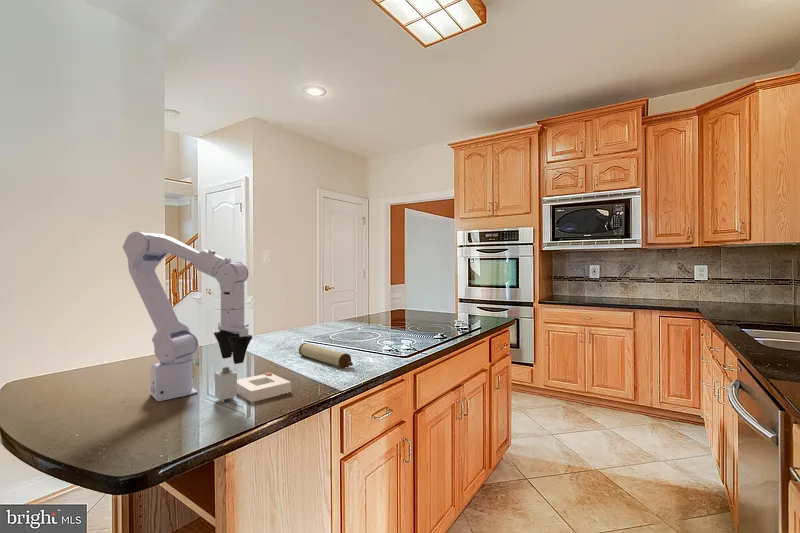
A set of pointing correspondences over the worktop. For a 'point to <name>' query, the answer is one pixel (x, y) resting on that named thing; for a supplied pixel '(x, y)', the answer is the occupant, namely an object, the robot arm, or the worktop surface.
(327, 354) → the rolling pin
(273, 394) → the socket box
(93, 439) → the worktop surface
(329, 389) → the worktop surface
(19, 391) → the worktop surface
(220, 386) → the plug
